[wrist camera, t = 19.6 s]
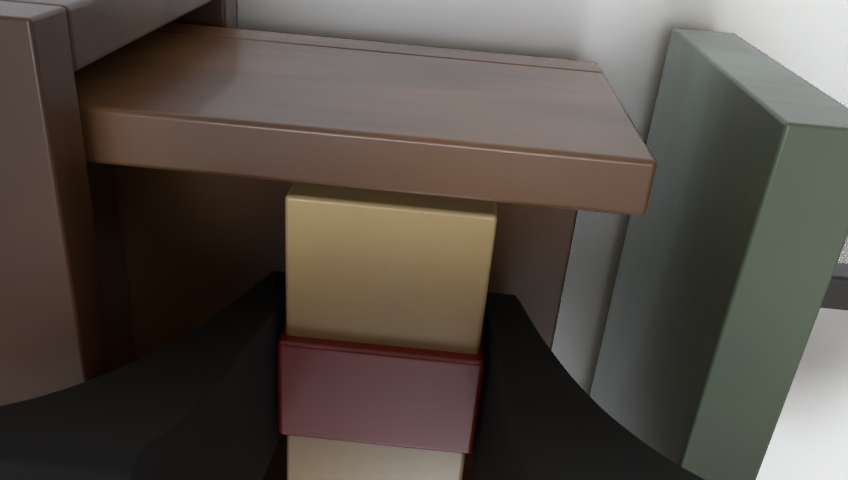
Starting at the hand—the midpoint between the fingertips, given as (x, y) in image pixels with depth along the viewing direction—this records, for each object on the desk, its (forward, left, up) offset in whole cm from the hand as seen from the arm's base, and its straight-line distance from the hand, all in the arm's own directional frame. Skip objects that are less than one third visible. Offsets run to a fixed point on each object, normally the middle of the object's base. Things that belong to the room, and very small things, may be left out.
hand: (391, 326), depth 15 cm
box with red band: (0, 0, -1) cm, 1 cm away
